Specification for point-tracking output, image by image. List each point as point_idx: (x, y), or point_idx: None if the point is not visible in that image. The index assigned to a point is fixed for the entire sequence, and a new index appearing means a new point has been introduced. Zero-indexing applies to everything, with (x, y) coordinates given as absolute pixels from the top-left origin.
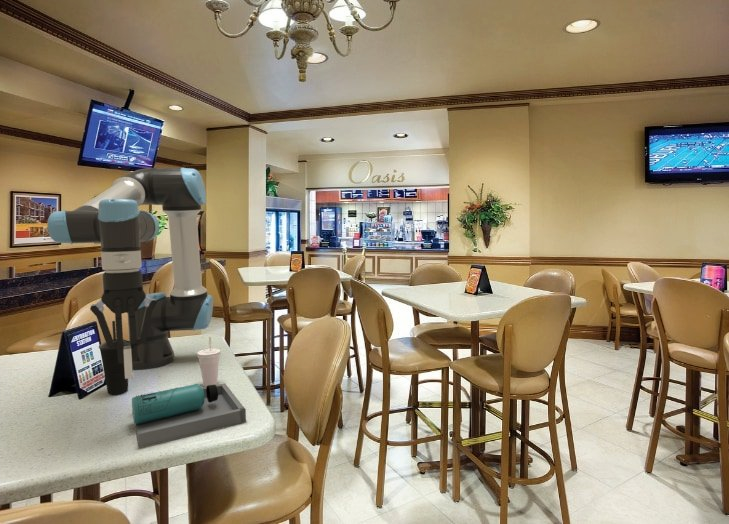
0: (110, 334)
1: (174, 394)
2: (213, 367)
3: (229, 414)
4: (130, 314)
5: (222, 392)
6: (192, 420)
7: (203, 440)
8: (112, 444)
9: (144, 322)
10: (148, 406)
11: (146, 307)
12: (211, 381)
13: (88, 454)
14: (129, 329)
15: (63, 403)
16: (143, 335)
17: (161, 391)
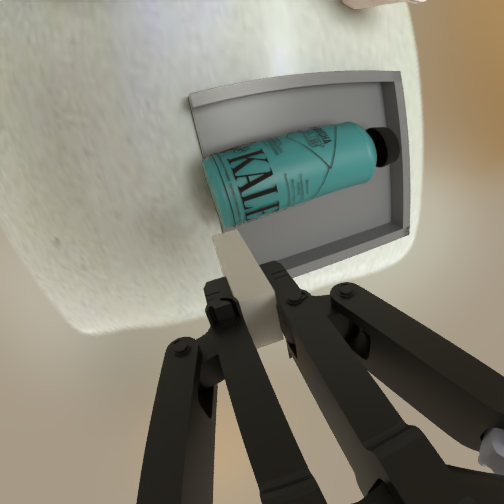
0: (206, 417)
1: (320, 191)
2: (391, 3)
3: (386, 241)
4: (372, 490)
5: (385, 88)
6: (333, 258)
7: (333, 273)
8: (183, 254)
9: (410, 400)
10: (256, 217)
11: (492, 425)
12: (363, 7)
13: (152, 282)
14: (315, 370)
15: (16, 14)
16: (364, 352)
17: (293, 183)
